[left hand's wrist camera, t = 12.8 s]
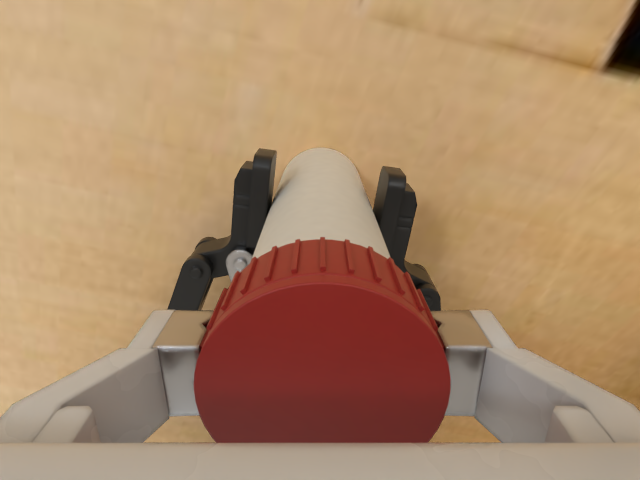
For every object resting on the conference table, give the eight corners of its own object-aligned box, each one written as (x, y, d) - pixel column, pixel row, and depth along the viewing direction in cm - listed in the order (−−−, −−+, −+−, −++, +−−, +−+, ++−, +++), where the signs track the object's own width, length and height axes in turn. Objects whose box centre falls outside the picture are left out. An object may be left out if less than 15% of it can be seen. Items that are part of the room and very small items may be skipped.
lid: (458, 259, 10) (495, 308, 8) (394, 430, 12) (410, 506, 10) (230, 213, 9) (205, 252, 7) (203, 398, 11) (177, 470, 9)
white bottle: (369, 157, 23) (459, 310, 8) (350, 232, 25) (395, 473, 10) (288, 139, 23) (229, 266, 8) (274, 217, 24) (203, 443, 9)
